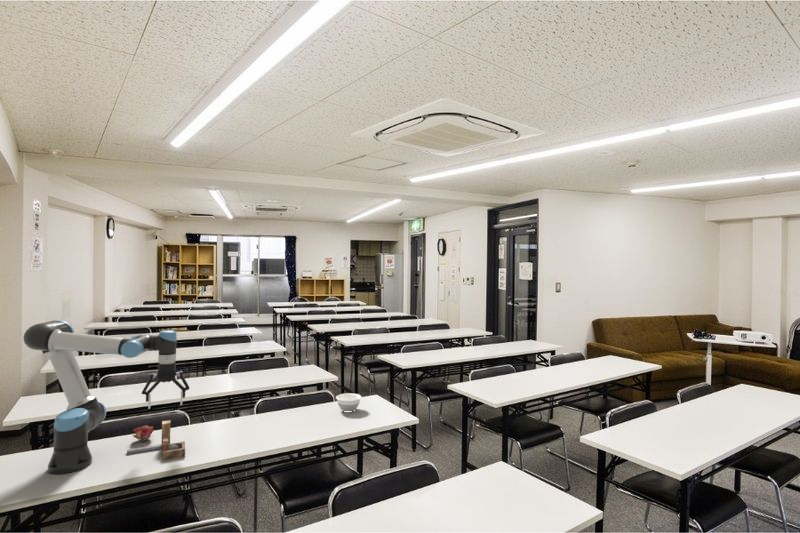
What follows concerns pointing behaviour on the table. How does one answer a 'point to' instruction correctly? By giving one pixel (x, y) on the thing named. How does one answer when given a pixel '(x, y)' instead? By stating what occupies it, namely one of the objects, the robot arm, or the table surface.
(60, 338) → the robot arm
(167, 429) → the tan and red block
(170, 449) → the ball
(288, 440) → the table surface
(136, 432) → the flower
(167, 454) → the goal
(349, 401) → the bowl
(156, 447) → the rail
